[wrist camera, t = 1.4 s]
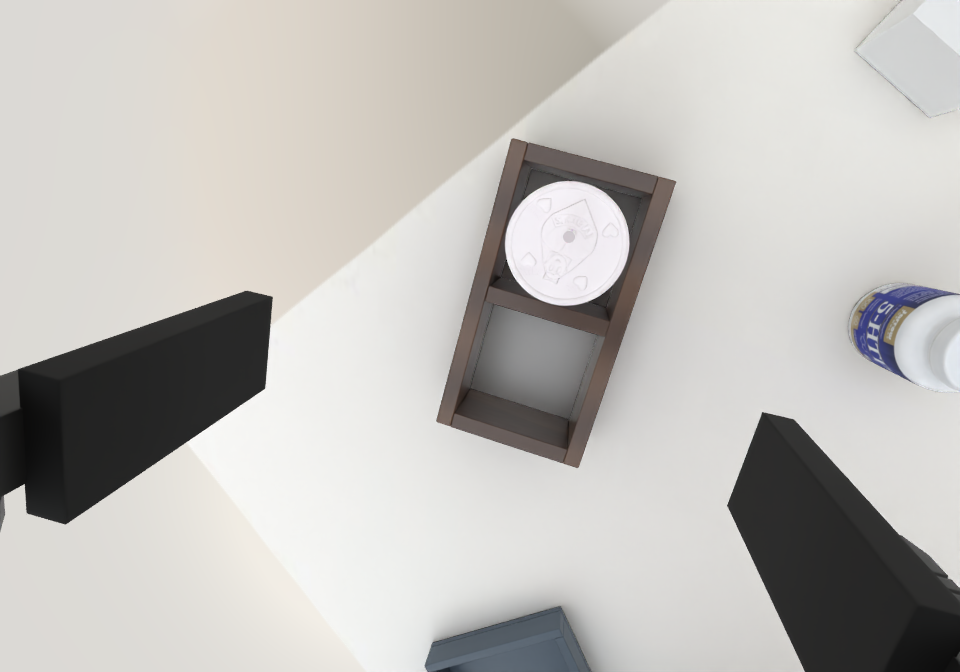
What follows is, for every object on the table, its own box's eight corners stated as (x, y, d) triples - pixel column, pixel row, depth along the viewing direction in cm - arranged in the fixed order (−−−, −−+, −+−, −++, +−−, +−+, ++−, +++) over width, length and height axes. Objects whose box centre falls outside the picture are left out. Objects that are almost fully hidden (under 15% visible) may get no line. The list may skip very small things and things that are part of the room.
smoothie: (634, 211, 37) (666, 206, 23) (593, 300, 38) (601, 344, 25) (543, 175, 37) (524, 149, 24) (507, 264, 39) (469, 288, 25)
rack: (578, 436, 40) (578, 468, 35) (454, 396, 41) (435, 422, 36) (662, 187, 36) (676, 181, 31) (521, 149, 37) (511, 137, 32)
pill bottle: (844, 288, 35) (928, 310, 27) (937, 277, 34) (1057, 295, 26) (847, 369, 36) (929, 414, 28) (938, 360, 35) (1054, 405, 27)
